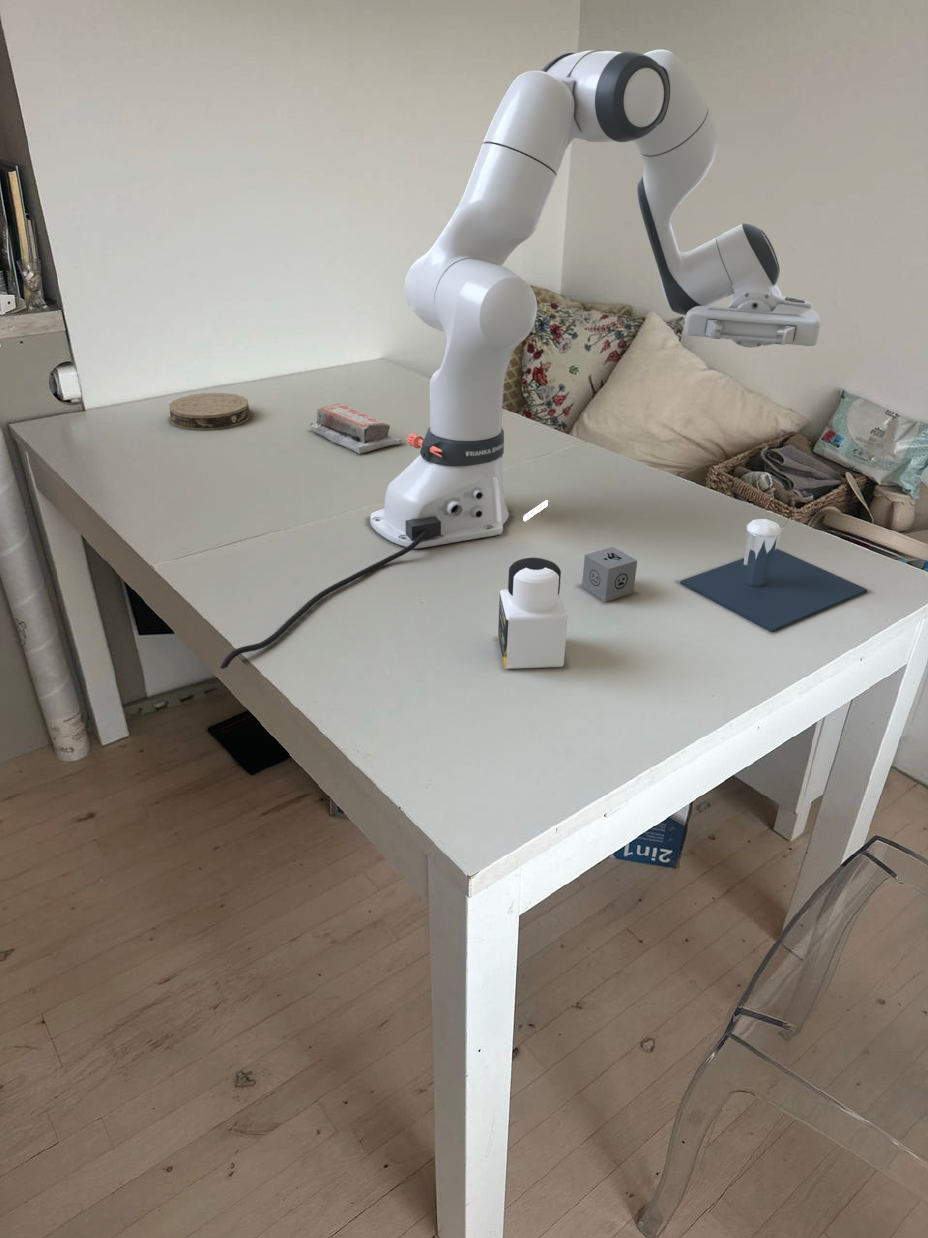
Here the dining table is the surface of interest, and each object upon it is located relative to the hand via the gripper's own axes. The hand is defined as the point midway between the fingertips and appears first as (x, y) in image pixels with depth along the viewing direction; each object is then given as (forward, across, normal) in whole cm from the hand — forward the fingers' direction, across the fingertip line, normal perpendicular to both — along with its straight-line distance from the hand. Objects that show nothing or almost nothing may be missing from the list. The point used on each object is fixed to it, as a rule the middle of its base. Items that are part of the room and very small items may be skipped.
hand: (748, 336), depth 137 cm
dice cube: (+35, -12, +28) cm, 47 cm away
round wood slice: (-12, -104, +28) cm, 109 cm away
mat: (+26, +10, +28) cm, 40 cm away
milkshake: (+26, +7, +28) cm, 39 cm away
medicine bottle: (+54, -18, +28) cm, 64 cm away
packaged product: (-11, -71, +28) cm, 77 cm away
